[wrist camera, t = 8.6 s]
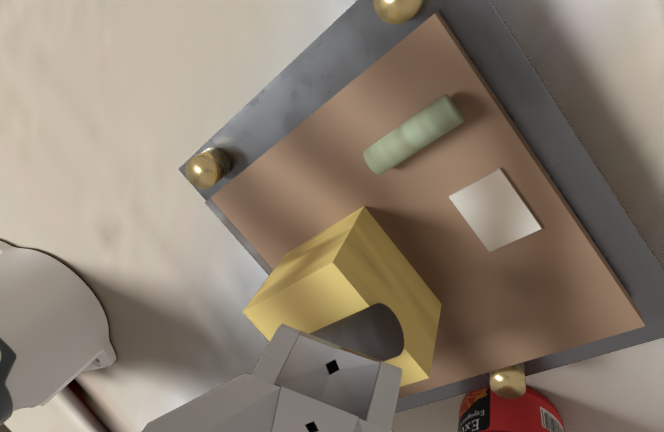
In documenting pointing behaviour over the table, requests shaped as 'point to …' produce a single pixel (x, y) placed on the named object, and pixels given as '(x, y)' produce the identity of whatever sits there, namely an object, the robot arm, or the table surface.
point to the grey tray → (520, 104)
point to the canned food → (508, 413)
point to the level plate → (421, 227)
